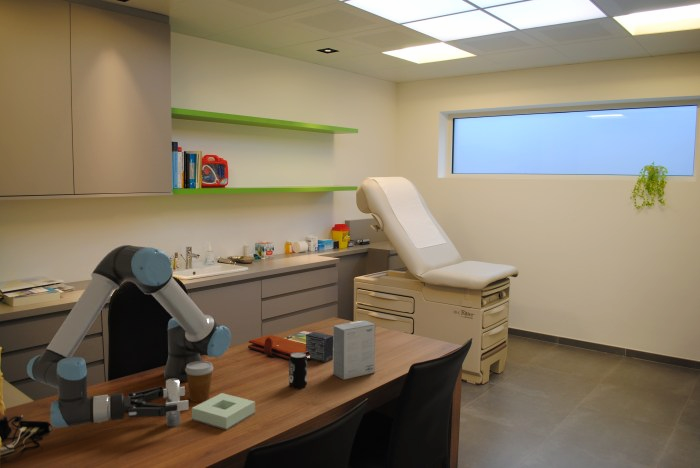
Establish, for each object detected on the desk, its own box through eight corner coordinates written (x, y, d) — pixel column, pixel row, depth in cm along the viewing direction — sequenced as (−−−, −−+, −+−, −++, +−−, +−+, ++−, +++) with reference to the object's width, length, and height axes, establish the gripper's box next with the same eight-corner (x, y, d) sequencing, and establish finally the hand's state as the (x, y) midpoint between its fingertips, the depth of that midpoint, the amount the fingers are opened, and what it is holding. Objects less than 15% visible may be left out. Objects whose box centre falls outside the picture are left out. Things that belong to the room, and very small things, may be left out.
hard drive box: (364, 367, 226) (365, 319, 224) (375, 373, 219) (376, 324, 217) (332, 374, 217) (333, 324, 215) (342, 380, 211) (343, 329, 209)
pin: (163, 425, 171) (163, 381, 169) (173, 420, 174) (172, 377, 173) (173, 428, 169) (172, 384, 168) (182, 423, 172) (182, 379, 171)
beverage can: (304, 390, 201) (304, 358, 199) (286, 388, 202) (286, 356, 201) (308, 383, 207) (309, 352, 206) (292, 381, 208) (292, 351, 207)
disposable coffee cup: (188, 405, 185) (188, 371, 184) (183, 395, 194) (182, 362, 192) (216, 401, 190) (216, 367, 188) (210, 391, 198) (209, 358, 197)
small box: (333, 359, 236) (334, 335, 234) (325, 363, 230) (325, 338, 229) (314, 354, 241) (314, 331, 240) (305, 358, 236) (305, 334, 235)
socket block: (192, 420, 175) (192, 407, 174) (221, 404, 187) (221, 392, 187) (226, 430, 168) (226, 417, 168) (255, 413, 180) (255, 401, 180)
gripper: (111, 404, 175) (183, 395, 183) (109, 436, 154) (190, 424, 162) (110, 381, 174) (182, 373, 183) (108, 410, 153) (190, 400, 161)
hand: (186, 397), depth 172 cm, fingers open, 11 cm apart
